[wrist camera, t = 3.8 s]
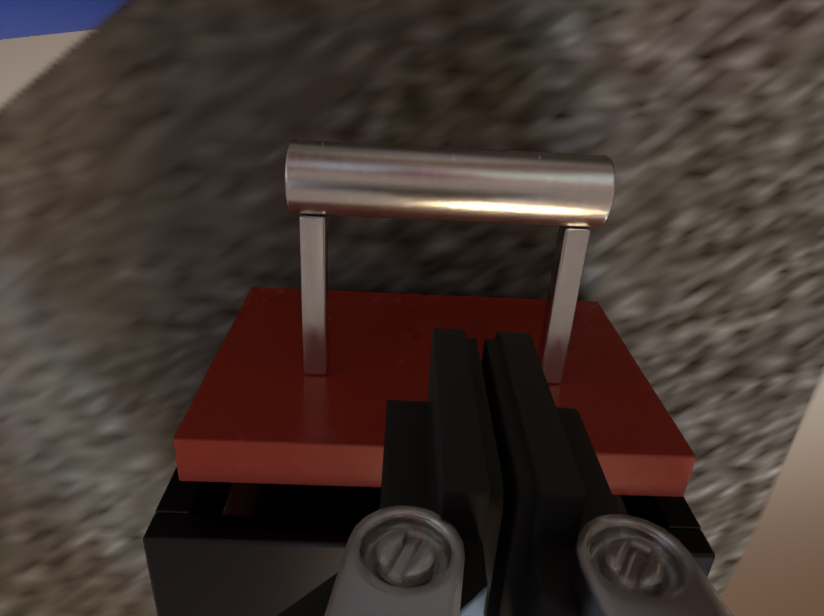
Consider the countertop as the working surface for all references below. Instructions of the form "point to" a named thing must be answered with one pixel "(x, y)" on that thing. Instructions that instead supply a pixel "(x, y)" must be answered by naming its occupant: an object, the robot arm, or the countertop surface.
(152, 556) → the black drawer housing
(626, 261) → the countertop surface
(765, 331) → the countertop surface
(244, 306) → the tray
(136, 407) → the countertop surface
